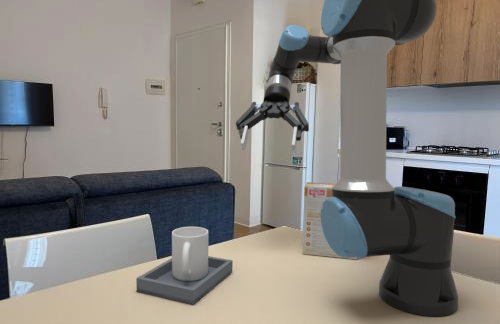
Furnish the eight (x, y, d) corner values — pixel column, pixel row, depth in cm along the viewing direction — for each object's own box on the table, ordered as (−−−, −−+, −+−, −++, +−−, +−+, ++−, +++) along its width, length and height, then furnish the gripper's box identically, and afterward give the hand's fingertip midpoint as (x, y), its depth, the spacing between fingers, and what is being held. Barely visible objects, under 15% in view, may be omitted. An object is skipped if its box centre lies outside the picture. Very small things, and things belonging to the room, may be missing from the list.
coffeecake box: (357, 251, 108) (360, 184, 105) (358, 260, 101) (361, 188, 99) (304, 246, 111) (306, 181, 109) (301, 254, 104) (304, 185, 102)
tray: (232, 272, 91) (232, 260, 91) (193, 305, 75) (193, 290, 74) (183, 263, 97) (183, 251, 96) (136, 291, 80) (136, 278, 80)
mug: (203, 290, 80) (203, 242, 78) (164, 289, 80) (164, 242, 78) (210, 268, 91) (210, 226, 90) (176, 267, 92) (175, 226, 90)
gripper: (320, 103, 112) (315, 158, 99) (239, 103, 118) (225, 154, 105) (320, 83, 107) (315, 139, 94) (235, 84, 112) (219, 136, 99)
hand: (267, 147), depth 99 cm, fingers open, 13 cm apart
